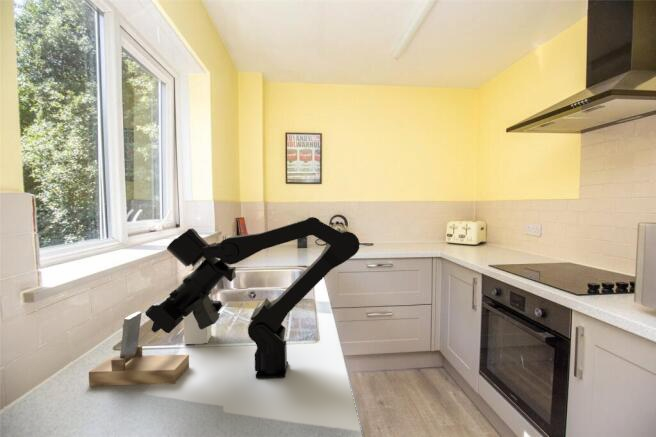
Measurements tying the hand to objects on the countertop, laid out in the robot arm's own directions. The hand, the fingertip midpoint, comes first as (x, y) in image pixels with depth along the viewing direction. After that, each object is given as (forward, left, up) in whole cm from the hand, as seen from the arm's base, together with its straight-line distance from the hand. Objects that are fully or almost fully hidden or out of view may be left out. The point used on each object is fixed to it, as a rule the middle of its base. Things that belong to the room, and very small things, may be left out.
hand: (153, 330), depth 69 cm
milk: (-2, -19, -10) cm, 22 cm away
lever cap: (+6, 0, -7) cm, 9 cm away
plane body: (+3, 0, -10) cm, 11 cm away
